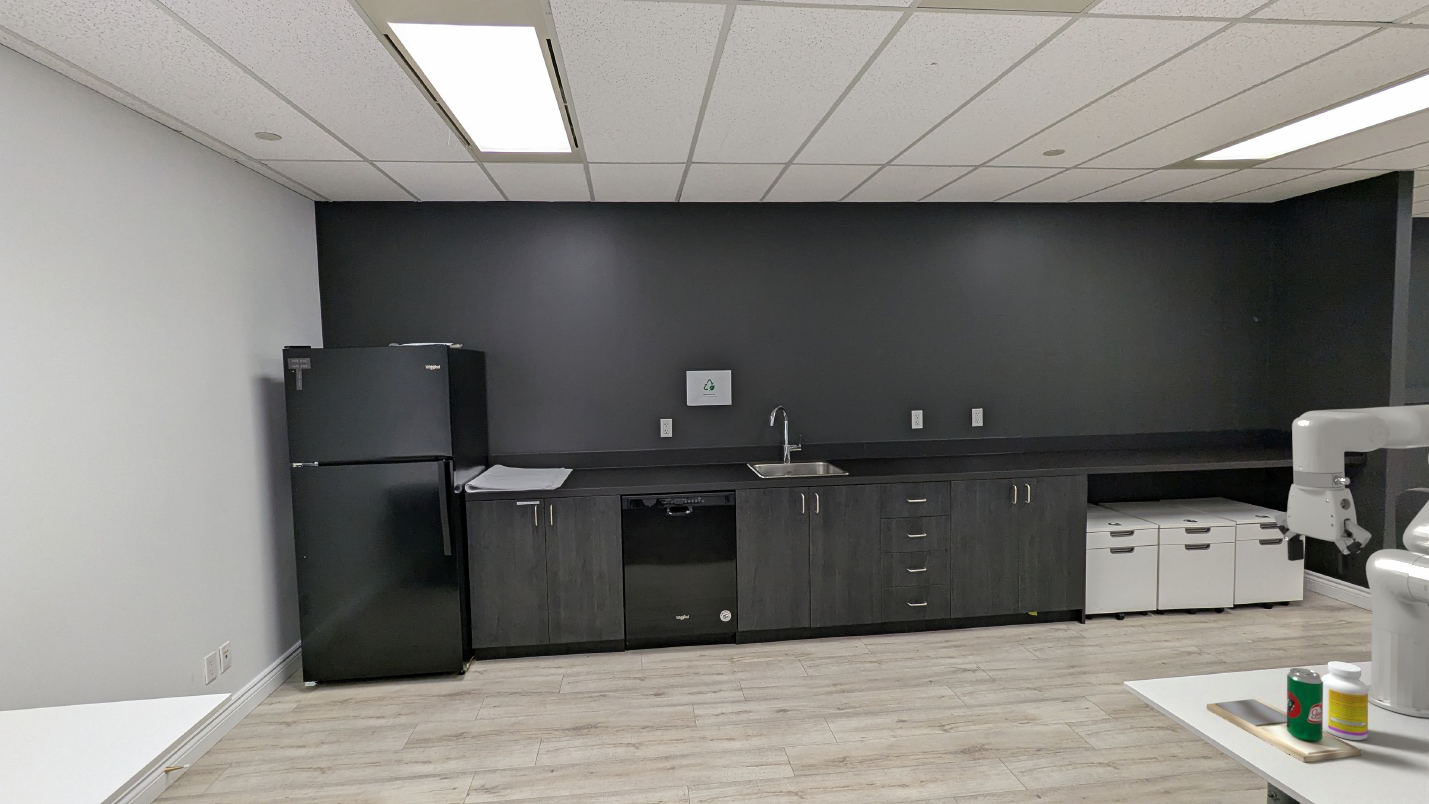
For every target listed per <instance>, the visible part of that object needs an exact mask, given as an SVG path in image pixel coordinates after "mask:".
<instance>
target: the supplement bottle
mask: <svg viewBox="0 0 1429 804" xmlns="http://www.w3.org/2000/svg"><path fill="white" fill-rule="evenodd" d="M1327 671H1328V672H1329V673H1327V674H1324V675H1322V676H1321V677H1320V678H1321V680H1322V681H1323V731H1324V732H1326V733H1328V734H1330V735H1332V736H1334V737H1336V738H1341V739H1345V740H1351V741H1363V740H1365V739H1367V738H1368V734H1369V733H1368V732H1369V718H1368V717H1369V701H1368V688H1367V684H1366V683H1364V682H1363V681H1362V680H1361V676H1362V669H1361V668H1360V667H1359V666H1357V665H1354V664H1352V663H1348V662H1343V661H1337V660H1335V661H1328V662H1327Z"/></svg>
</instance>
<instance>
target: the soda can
mask: <svg viewBox="0 0 1429 804" xmlns="http://www.w3.org/2000/svg"><path fill="white" fill-rule="evenodd" d="M1321 678H1322V676H1321V675H1320V673H1318V672H1316V671H1314V670H1311V669H1307V668H1302V667H1301V668H1300V667H1292V668H1290V669H1289V672H1288V673H1287V674H1286V713H1287V731H1288V732H1289V733H1290V734H1291V735H1292V736H1293V737H1295V738H1297V739H1300V740H1303V741H1307V742H1318V741H1320V740H1321V739H1322V738H1323V731H1324V729H1323V681H1322V680H1321Z"/></svg>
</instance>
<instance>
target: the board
mask: <svg viewBox="0 0 1429 804" xmlns="http://www.w3.org/2000/svg"><path fill="white" fill-rule="evenodd" d="M1206 710H1208V711H1209V712H1212V713H1213V714H1215V715H1217V716H1219V717H1221V718H1222V719H1224V720H1226V721H1228V722H1229V723H1232V724H1233V725H1235V726H1237V727H1239V728H1240V729H1242V730H1244V731H1246V732H1247V733H1250V734H1252V735H1253V736H1255V737H1257V738H1259V739H1260V740H1263V741H1264V742H1266V743H1268V744H1270V745H1271V746H1273V747H1275V748H1276V749H1278V750H1281V751H1283V752H1284V753H1286V754H1288V755H1289V754H1290V755H1289V756H1292V757H1293V758H1295V759H1297V760H1299V761H1301V762H1302V763H1307V762H1308V763H1309V762H1319V761H1325V760H1333V759H1334V760H1335V759H1342V758H1348V757H1349V758H1350V757H1355V756H1361V755H1362V749H1361V748H1359V747H1357V746H1355V745H1353V744H1351V743H1348V742H1347V741H1344V740H1342V738H1341V739H1340V737H1337V736H1335V735H1332V734H1330V733H1328V732H1327V731H1325V730H1323V738H1322V739H1321V740H1320V741H1318V742H1307V741H1303V740H1300V739H1297V738H1295V737H1293V736H1292V735H1291V734H1290V733H1289V732H1288V731H1287V711H1283V710H1282V709H1279V708H1277V707H1276V706H1273V705H1272V704H1270V703H1267V702H1265V701H1263V700H1261V699H1259V698H1251V699H1250V698H1249V699H1240V700H1233V701H1223V702H1222V701H1221V702H1215V703H1214V702H1213V703H1206Z"/></svg>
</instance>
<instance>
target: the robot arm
mask: <svg viewBox="0 0 1429 804" xmlns="http://www.w3.org/2000/svg"><path fill="white" fill-rule="evenodd" d="M1291 431H1292V434H1291V435H1292V438H1291V439H1292V441H1291V442H1292V467H1293V468H1292V469H1293V470H1292V471H1293V475H1292V476H1293V483H1292V484H1291V486H1290V488H1289V489H1290V490H1289V492H1288V500H1287V510H1286V511H1285V512H1282V513H1279V514H1276V515H1274V517H1273V519H1274V521H1275V523H1276V524H1277V528H1278V530H1279V532H1280V533H1281V534H1282V535H1283V540H1285V541H1286V542H1287V547H1286V548H1287V560H1288V561H1291V562H1293V561H1295V562H1296V561H1301V560H1304V559H1305V546H1304V543H1305V542H1304V539H1301V538H1302V537H1303V536H1304V537H1310V538H1314V539H1319V540H1322V541H1323V540H1324V541H1328V542H1334V544H1335V545H1336V546H1337V548H1338V549H1339V550H1340V551H1341V552H1339V553H1338V555H1337V556H1338V557H1337V558H1338V559H1337V560H1338V573H1339V574H1340V575H1351V574H1355V573H1357V568H1358V567H1357V554H1358V553H1360V552H1361V551H1362V550H1363V549H1365V548H1366V546H1367V544H1368V543H1369V541H1370V539H1371V538H1372V534H1371V532H1369V531H1368V530H1366V529H1365V528H1363V527H1362V526H1360V525H1358V522H1357V514H1356V507H1355V504H1354V498H1353V496H1352V493H1351V490H1350V488H1348V487H1347V488H1346V487H1345V486H1346V485H1349V484H1351V480H1350V478H1349V477H1346V476H1345V474H1346V473H1345V452H1357V453H1359V452H1360V453H1363V452H1364V453H1365V452H1367V453H1368V452H1372V451H1373V452H1374V451H1375V450H1378V449H1415V448H1422V447H1423V448H1424V447H1429V404H1419V405H1400V406H1399V405H1398V406H1397V405H1396V406H1379V407H1366V408H1342V409H1322V410H1321V409H1319V410H1310V411H1306V412H1304V413H1303V414H1301V415H1300V416H1299V417H1296V418H1295V419H1294V420H1293V421H1292V424H1291ZM1427 462H1428V464H1429V454H1428V456H1427ZM1354 540H1355V541H1354ZM1402 542H1403V545H1404V546H1405V548H1406V549H1407V550H1406V549H1398V548H1385V549H1379V550H1377V551H1374V553H1372V554H1370V556H1369V558H1368V559H1367V561H1366V565H1365V571H1366V572H1365V574H1366V579H1367V582H1368V587H1369V591H1370V597H1371V611H1372V613H1371V616H1372V617H1371V618H1372V619H1371V621H1372V622H1371V673H1370V674H1371V677H1370V678H1371V679H1370V680H1371V682H1370V683H1371V684H1368V685H1367V684H1366V686H1367V688H1368V703H1371V704H1373V705H1375V706H1377V707H1379V708H1382V709H1385V710H1388V711H1391V712H1395V713H1398V714H1402V715H1407V716H1411V717H1419V718H1426V719H1427V718H1428V719H1429V500H1427V502H1425V505H1424V506H1423V507H1422V508H1421V509H1420V510H1419V512H1418V513H1417V514H1416V516H1414V517H1413V519H1412V520H1411V522H1410V523H1409V524H1408V525H1407V527H1406V528H1405V530H1404V533H1403V535H1402Z"/></svg>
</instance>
